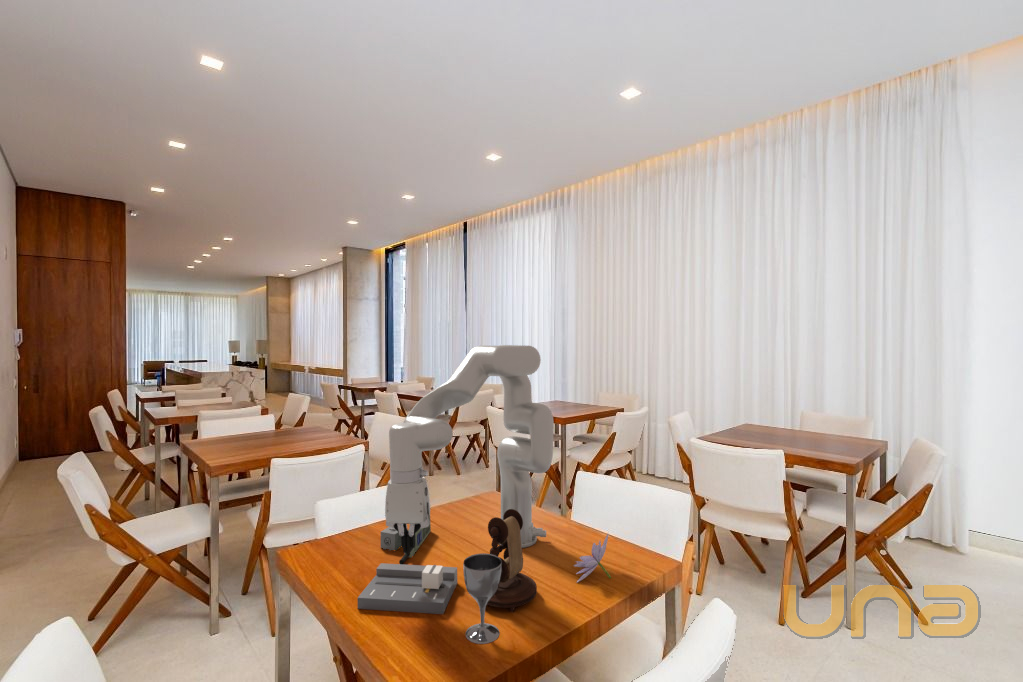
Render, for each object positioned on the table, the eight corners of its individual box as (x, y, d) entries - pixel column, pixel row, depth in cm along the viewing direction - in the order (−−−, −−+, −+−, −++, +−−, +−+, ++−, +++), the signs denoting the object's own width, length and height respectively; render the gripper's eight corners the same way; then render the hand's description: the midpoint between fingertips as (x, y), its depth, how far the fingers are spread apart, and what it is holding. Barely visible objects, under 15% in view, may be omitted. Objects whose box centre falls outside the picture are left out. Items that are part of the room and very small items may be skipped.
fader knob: (442, 580, 118) (442, 565, 118) (438, 589, 114) (438, 573, 114) (426, 579, 119) (426, 564, 119) (421, 588, 115) (421, 572, 115)
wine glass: (463, 623, 105) (463, 554, 105) (500, 621, 106) (500, 552, 106) (463, 646, 97) (463, 571, 97) (502, 644, 98) (502, 569, 98)
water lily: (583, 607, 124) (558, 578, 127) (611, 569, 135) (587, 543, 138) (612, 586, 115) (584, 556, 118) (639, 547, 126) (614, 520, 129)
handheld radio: (432, 531, 157) (407, 567, 132) (422, 531, 157) (395, 567, 132) (431, 510, 157) (406, 542, 132) (421, 510, 157) (394, 542, 132)
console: (457, 583, 123) (457, 567, 123) (443, 614, 109) (443, 596, 109) (380, 578, 125) (380, 563, 125) (357, 608, 111) (357, 591, 111)
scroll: (516, 621, 106) (516, 529, 106) (462, 602, 114) (462, 516, 114) (547, 591, 119) (547, 509, 119) (497, 576, 126) (497, 499, 126)
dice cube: (394, 551, 142) (394, 534, 142) (380, 548, 143) (380, 531, 143) (404, 544, 146) (404, 528, 146) (390, 542, 148) (390, 525, 148)
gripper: (440, 470, 120) (442, 544, 121) (382, 470, 122) (384, 542, 122) (432, 480, 113) (434, 558, 113) (370, 479, 114) (372, 556, 115)
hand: (408, 550), depth 118 cm, fingers closed
